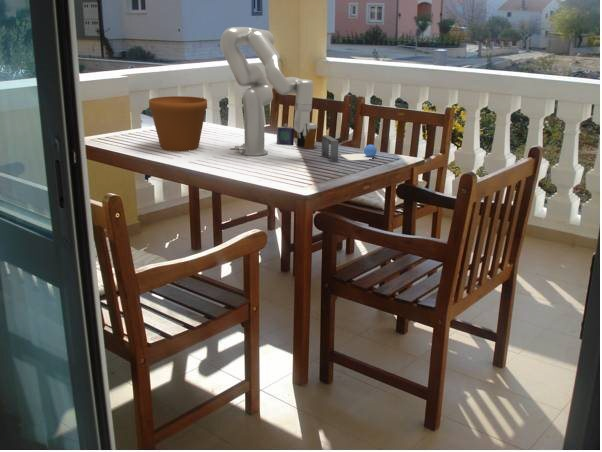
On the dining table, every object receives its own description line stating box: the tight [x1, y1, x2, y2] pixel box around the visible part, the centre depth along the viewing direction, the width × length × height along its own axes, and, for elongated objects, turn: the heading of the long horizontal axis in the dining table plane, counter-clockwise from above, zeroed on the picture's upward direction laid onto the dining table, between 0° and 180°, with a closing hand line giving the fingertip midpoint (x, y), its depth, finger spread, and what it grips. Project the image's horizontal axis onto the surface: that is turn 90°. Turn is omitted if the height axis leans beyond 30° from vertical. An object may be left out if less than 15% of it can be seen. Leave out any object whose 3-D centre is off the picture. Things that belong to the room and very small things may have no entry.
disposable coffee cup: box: [301, 122, 318, 149], centre depth 350 cm, size 10×10×12 cm
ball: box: [363, 143, 377, 158], centre depth 331 cm, size 6×6×6 cm
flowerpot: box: [148, 95, 208, 152], centre depth 342 cm, size 28×28×24 cm
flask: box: [276, 123, 295, 146], centre depth 357 cm, size 9×3×11 cm, turn 71°
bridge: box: [320, 134, 339, 163], centre depth 326 cm, size 3×15×10 cm, turn 17°
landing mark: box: [339, 153, 373, 162], centre depth 331 cm, size 13×13×1 cm
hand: (300, 146), depth 322 cm, fingers closed
